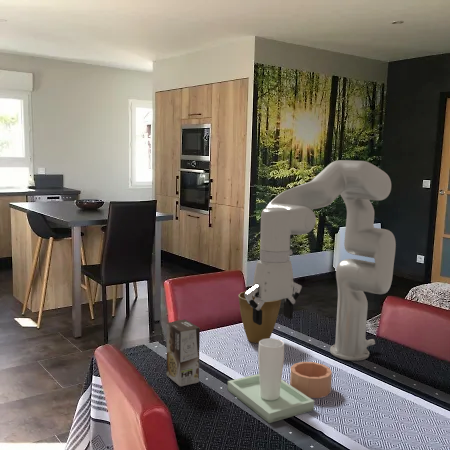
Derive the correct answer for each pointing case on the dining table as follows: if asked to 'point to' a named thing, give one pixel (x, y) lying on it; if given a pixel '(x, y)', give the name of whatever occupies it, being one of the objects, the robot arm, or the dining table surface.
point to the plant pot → (268, 319)
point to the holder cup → (311, 379)
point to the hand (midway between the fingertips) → (272, 320)
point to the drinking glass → (270, 367)
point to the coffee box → (183, 352)
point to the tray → (276, 409)
